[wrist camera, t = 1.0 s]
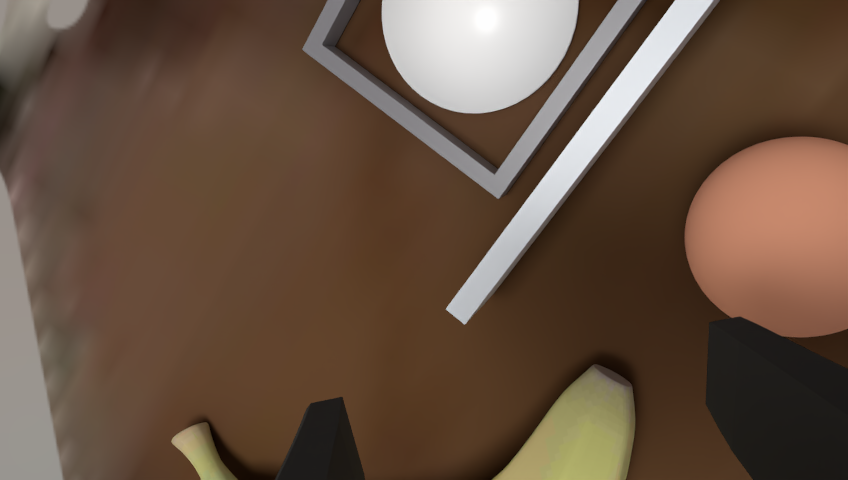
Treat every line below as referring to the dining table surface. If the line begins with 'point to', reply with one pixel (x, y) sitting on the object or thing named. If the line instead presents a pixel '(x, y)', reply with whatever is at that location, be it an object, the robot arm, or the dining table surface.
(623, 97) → the acrylic wall
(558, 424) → the banana
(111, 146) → the dining table surface
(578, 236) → the dining table surface
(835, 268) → the ball
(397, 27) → the grey square frame
